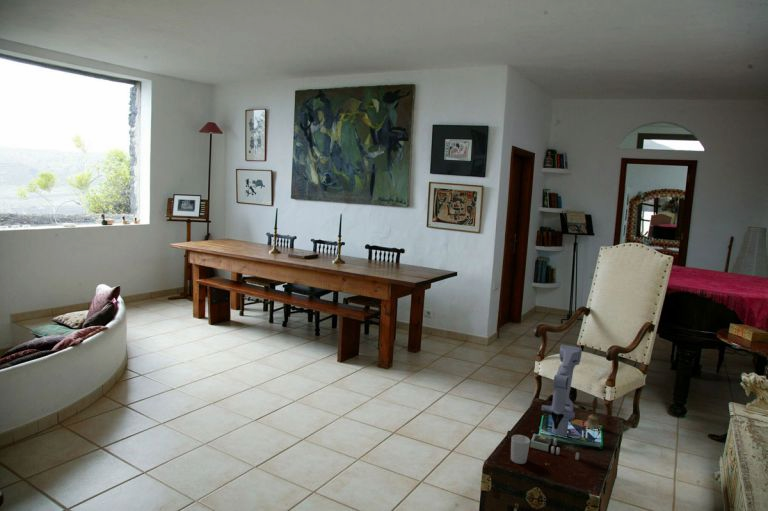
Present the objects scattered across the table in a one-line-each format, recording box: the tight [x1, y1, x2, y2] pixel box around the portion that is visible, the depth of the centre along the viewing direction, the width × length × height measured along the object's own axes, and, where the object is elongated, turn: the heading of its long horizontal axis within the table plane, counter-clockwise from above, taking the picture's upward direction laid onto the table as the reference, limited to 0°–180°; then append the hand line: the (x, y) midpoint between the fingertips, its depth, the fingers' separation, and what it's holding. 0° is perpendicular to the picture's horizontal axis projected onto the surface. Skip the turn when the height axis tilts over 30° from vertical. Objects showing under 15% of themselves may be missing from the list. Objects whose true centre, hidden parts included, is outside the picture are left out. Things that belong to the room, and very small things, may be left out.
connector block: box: [537, 434, 549, 444], centre depth 246 cm, size 4×4×4 cm
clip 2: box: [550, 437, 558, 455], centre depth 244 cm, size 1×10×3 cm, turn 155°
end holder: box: [529, 433, 552, 452], centre depth 247 cm, size 8×8×3 cm
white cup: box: [510, 434, 531, 465], centre depth 232 cm, size 8×8×10 cm
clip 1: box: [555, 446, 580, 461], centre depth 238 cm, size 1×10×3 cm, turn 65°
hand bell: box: [583, 397, 601, 430], centre depth 269 cm, size 8×8×16 cm
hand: (556, 428), depth 243 cm, fingers closed
